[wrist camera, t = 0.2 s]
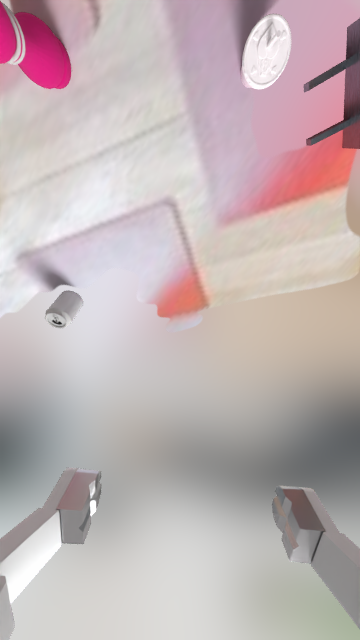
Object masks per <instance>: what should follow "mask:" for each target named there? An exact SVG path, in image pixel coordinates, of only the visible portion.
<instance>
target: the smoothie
mask: <svg viewBox="0 0 360 640" xmlns="http://www.w3.org/2000/svg"><path fill="white" fill-rule="evenodd" d="M290 50H291V32H290V27H289V25H288V23H287V21H286V20H285V18H283V17H282V16H281V15H279V14H269V15H267V16H265V17H263V18H262V19H261V20H260V21H259V22H258V23H257V24H256V25H255V27H254V28H253V29H252V31H251V33H250V34H249V36H248V38H247V41H246V44H245V46H244V51H243V57H242V69H241V81H242V83H243V85H244V86H246V87H249V88H250V87H253V88H255V89H263V88H266V87H268V86H270V85H271V84H273V83H274V82H275V81H276V80H277V78H278V77H279V76H280V75H281V73H282V72H283V70H284V68H285V66H286V64H287V61H288V58H289V54H290Z"/></svg>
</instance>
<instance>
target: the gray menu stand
mask: <svg viewBox="0 0 360 640" xmlns="http://www.w3.org/2000/svg"><path fill="white" fill-rule="evenodd" d="M346 51H347V52H346V60H345V61H343V62H341V63H340V64H338V65H336V66H335V67H333V68H331V69H330V70H328V71H326V72H324V73H323V74H321V75H319V76H318V77H316V78H314V79H313V80H311V81H310V82H308V83H306V84H304V92H306V91H309V90H310V89H312V88H314V87H315V86H317V85H319V84H321V83H322V82H324V81H326V80H327V79H329V78H331V77H333V76H334V75H336V74H338V73H339V72H341V71H343V70H344V69H346V75H345V99H344V120H343V121H341V122H339V123H337V124H335V125H333V126H331V127H329V128H327V129H326V130H324V131H322V132H320V133H318V134H316V135H314V136H312V137H310V138H308V139H307V140H306V144H307V145H309V146H311V145H313V144H315V143H317V142H319V141H321V140H323V139H325V138H327V137H329V136H331V135H333V134H335V133H337V132H339V131H341V130H343V148H354V149H360V19H358V20H357V21H355V22H354V23H353V24H351V25H350V26H349V27H348V28H347V50H346Z"/></svg>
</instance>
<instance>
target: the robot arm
mask: <svg viewBox="0 0 360 640" xmlns="http://www.w3.org/2000/svg"><path fill="white" fill-rule="evenodd" d="M100 479H101V471H96V470H87V469H78V468H67V469H66V470H65V471H64V472H63V474H62V475H61V477H60V479H59V481H58V482H57V484H56V486H55V488H54V489H53V491H52V492H51V494H50V496H49V497H48V499H47V501H46V502H45V504H44V506H43V508H38V509H37V510H36V511H34V512H33V513H32V514H31V515H29V516H28V517H27V518H26V519H24V520H23V521H22V522H21V523H19V524H18V525H17V526H16V527H14V528H13V529H12V530H11V531H10V532H8V533H7V534H6V535H5V536H4V537H2V538H1V539H0V640H9V638H10V636H11V634H12V632H13V630H14V618H13V613H12V608H11V603H12V602H13V601H14V600H15V598H16V597H17V596H18V595H19V594H20V593H21V592H22V590H23V589H24V588H25V587H26V586H27V585H28V583H29V582H30V581H31V580H32V579H33V578H34V577H35V575H36V574H37V573H38V572H39V571H40V570H41V568H42V567H43V566H44V565H45V564H46V563H47V561H48V560H49V559H50V558H51V557H52V556H53V554H54V553H55V552H56V551H57V550H58V549H59V548H60V546H61V545H62V543H69V544H84V541H85V539H86V536H87V533H88V530H89V528H90V525H91V515H92V514H93V513H94V512H95V511H96V508H97V506H98V503H99V498H100V494H101V484H100V482H99V481H100ZM275 492H276V494H277V496H276V497H275V498H274V499H273V503H272V509H273V516H274V520H275V522H276V525H277V527H278V528H279V529H280V530H281V531H282V533H283V535H282V542H283V544H284V547H285V550H286V552H287V555H288V558H289V560H290V561H292V562H300V563H309V564H311V566H312V567H313V569H314V570H315V571H316V572H317V574H318V575H319V577H320V578H321V579H322V580H323V582H324V583H325V584H326V586H327V587H328V588H329V589H330V591H331V592H332V594H333V595H334V596H335V597H336V599H337V600H338V601H339V603H340V604H341V605H342V606H343V608H344V609H345V610H346V612H347V613H348V614H349V616H350V617H351V618H352V620H353V621H354V622H355V624H356V625H357V626H358V627H359V629H360V549H359V548H358V547H357V546H356V545H355V544H354V543H353V542H352V541H351V540H350V539H349V538H348V537H346V536H345V535H344V534H342V533H339V531H338V529H337V528H336V526H335V524H334V523H333V521H332V520H331V518H330V516H329V514H328V513H327V511H326V510H325V508H324V506H323V505H322V503H321V501H320V499H319V498H318V496H317V494H316V493H315V491H314V490H313V489H311V488H301V487H293V486H277V488H276V491H275Z"/></svg>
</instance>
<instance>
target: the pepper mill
mask: <svg viewBox="0 0 360 640" xmlns="http://www.w3.org/2000/svg"><path fill="white" fill-rule="evenodd" d="M6 62H7V63H9V64H13V65H16V64H18V65H19V67H20V68H21V69H22V71H23V72H24V73H25V74H26V75H27V76H28V77H29V78H30V79H31V80H32V81H33V82H35V83H36V84H38V85H39V86H41V87H44V88H48V89H51V88H57V89H62V88H64V87H66V86H67V85H68V83H69V81H70V78H71V64H70V60H69V57H68V54H67V52H66V49H65V48H64V46H63V44H62V43H61V42H60V40H59V39H58V38H57V37H56V36H55V35H54V34H53V32H52V31H51V30H50V28H49V27H48V26H47V25H46V24H45V23H44V22H43V21H42V20H40V19H39V18H37V17H36V16H34V15H32V14H30V13H26V12H19V13H16V14H15V15H14V14H13V13H12V12H11V10H10V9H9V8H8V7H7V6H6V5H5V4H3V3H2V2H1V1H0V64H2V63H6Z"/></svg>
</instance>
